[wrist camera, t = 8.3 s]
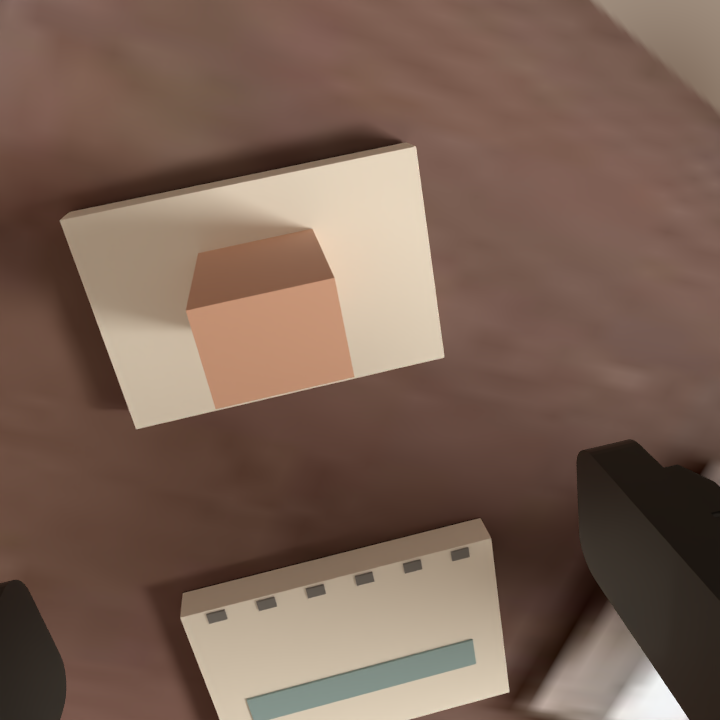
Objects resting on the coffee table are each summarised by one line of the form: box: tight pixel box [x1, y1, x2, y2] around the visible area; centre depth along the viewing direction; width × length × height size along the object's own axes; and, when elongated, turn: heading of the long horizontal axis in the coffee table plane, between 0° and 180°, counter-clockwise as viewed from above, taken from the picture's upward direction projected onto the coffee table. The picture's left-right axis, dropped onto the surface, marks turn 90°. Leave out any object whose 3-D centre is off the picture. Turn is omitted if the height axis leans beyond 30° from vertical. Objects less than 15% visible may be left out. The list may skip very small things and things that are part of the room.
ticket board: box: [180, 518, 509, 720], centre depth 32 cm, size 14×10×2 cm
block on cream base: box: [60, 142, 444, 429], centre depth 22 cm, size 12×8×7 cm, turn 100°
